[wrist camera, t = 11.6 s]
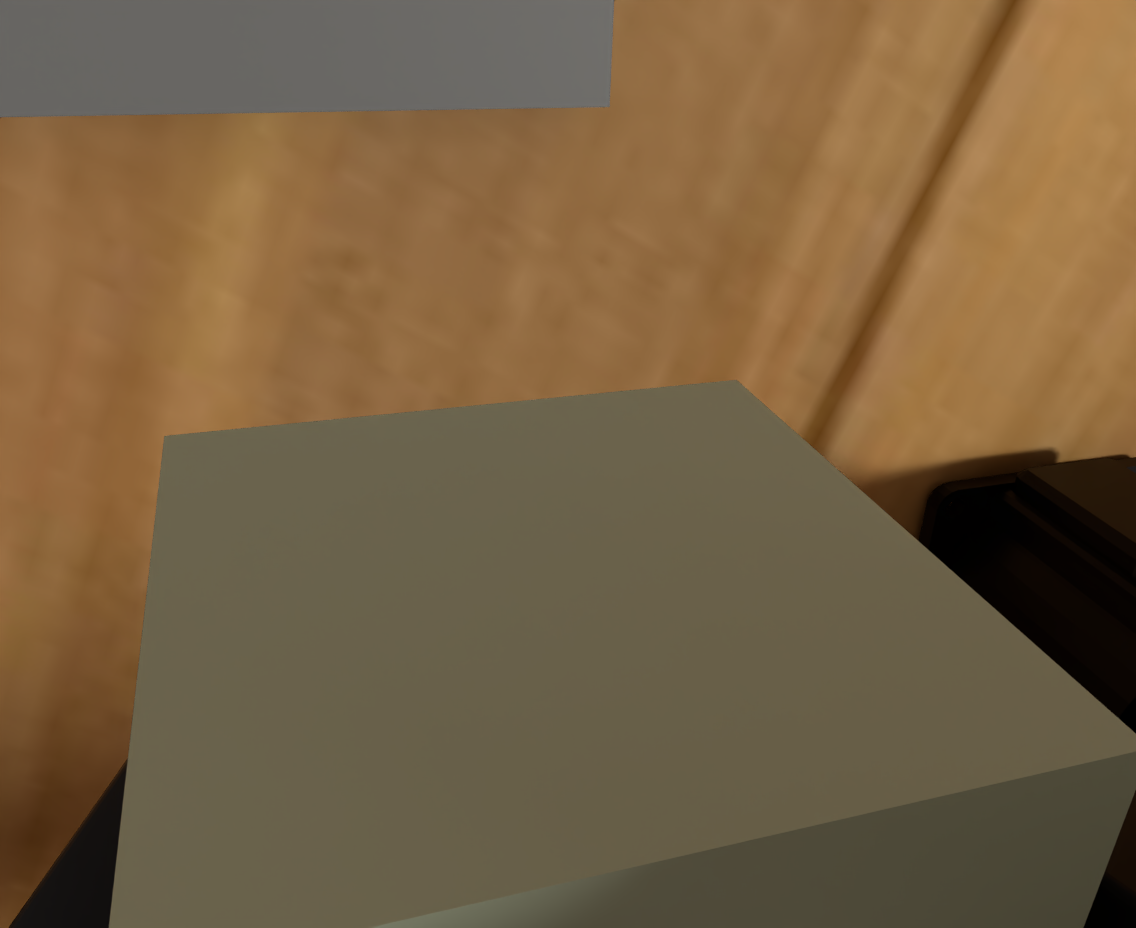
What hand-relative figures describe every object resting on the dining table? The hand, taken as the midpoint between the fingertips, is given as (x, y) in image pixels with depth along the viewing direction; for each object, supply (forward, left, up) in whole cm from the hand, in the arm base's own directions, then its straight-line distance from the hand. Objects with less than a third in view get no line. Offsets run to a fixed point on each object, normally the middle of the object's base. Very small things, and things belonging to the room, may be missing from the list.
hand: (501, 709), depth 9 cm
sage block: (0, 0, -1) cm, 1 cm away
